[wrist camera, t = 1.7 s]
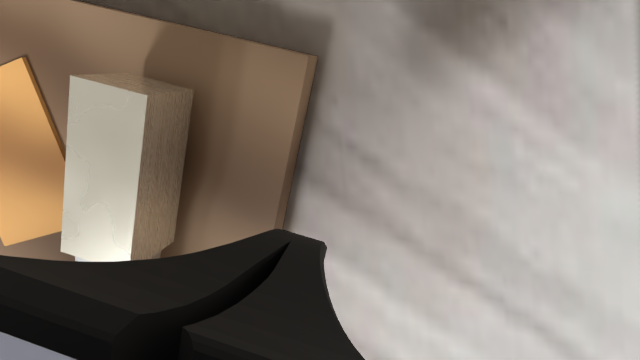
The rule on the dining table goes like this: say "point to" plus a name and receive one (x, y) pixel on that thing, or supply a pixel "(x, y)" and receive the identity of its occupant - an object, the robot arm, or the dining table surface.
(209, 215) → the board
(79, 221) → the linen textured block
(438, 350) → the dining table surface
